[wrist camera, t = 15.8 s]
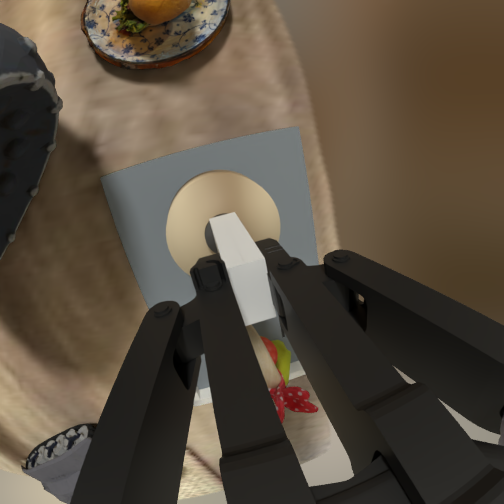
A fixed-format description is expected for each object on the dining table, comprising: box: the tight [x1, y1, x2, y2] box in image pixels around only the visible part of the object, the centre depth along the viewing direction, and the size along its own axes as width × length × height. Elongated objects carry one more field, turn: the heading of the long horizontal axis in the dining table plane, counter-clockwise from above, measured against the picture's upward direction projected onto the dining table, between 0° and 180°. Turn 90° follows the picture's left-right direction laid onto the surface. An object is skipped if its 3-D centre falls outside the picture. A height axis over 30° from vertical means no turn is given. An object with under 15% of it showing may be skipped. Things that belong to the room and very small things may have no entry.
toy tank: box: [21, 424, 96, 504], centre depth 28 cm, size 18×25×15 cm
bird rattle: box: [246, 325, 318, 423], centre depth 24 cm, size 6×11×9 cm
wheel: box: [166, 170, 280, 276], centre depth 19 cm, size 7×7×3 cm
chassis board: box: [100, 127, 319, 406], centre depth 26 cm, size 16×26×4 cm, turn 12°
